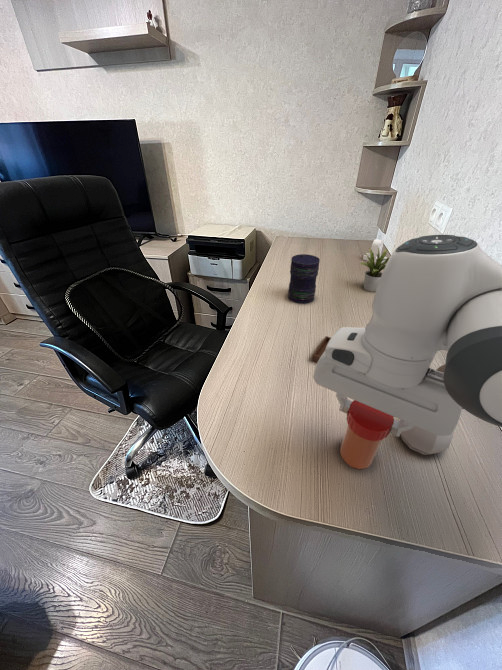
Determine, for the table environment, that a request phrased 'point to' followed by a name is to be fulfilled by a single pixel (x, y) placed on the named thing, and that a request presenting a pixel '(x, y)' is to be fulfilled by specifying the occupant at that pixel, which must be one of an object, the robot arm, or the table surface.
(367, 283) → the house plant
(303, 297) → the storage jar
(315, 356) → the tray
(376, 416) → the jar lid
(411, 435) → the potion bottle
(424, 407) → the robot arm
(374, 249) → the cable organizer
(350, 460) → the jar
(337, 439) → the table surface
